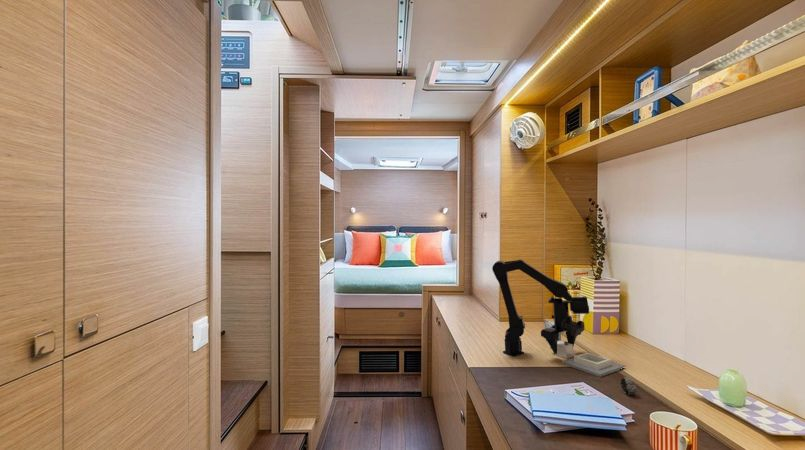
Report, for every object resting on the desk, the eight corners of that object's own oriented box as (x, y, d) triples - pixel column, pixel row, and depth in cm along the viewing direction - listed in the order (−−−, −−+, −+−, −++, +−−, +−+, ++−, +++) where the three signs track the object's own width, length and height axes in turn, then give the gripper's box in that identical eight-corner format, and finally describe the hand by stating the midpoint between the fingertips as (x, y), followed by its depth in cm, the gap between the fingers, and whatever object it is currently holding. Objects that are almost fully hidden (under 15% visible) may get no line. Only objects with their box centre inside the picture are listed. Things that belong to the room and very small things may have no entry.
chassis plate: (600, 377, 133) (599, 368, 133) (562, 363, 147) (561, 355, 147) (625, 368, 139) (624, 360, 140) (586, 356, 154) (586, 348, 154)
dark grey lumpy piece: (623, 398, 120) (630, 390, 117) (618, 382, 124) (624, 374, 120) (633, 398, 120) (640, 391, 116) (627, 382, 124) (634, 375, 120)
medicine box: (561, 345, 169) (560, 325, 169) (551, 345, 169) (550, 326, 170) (555, 339, 177) (554, 321, 177) (545, 340, 177) (544, 321, 177)
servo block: (570, 360, 151) (569, 344, 151) (550, 353, 160) (549, 339, 160) (577, 358, 153) (576, 343, 153) (557, 351, 162) (556, 337, 162)
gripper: (561, 320, 145) (563, 362, 145) (593, 313, 154) (596, 352, 153) (538, 315, 155) (541, 354, 155) (570, 308, 164) (572, 345, 163)
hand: (563, 351), depth 156 cm, fingers open, 9 cm apart
